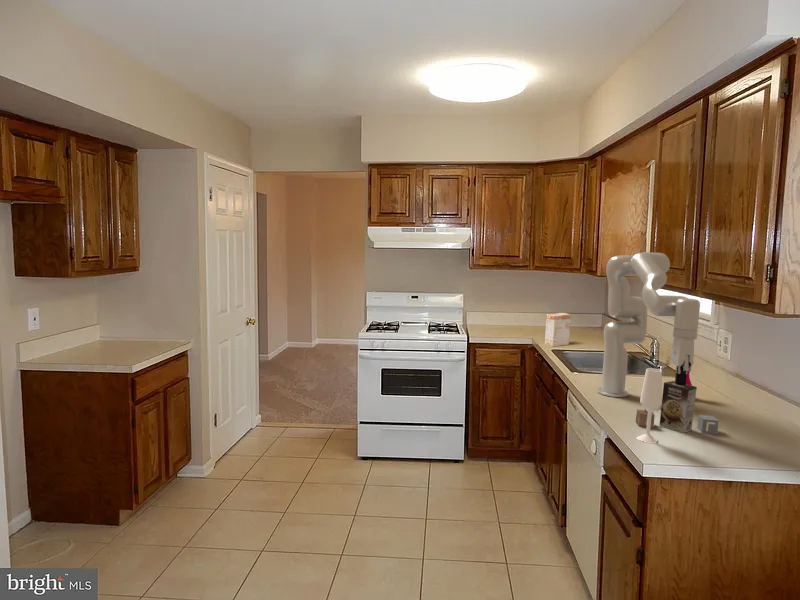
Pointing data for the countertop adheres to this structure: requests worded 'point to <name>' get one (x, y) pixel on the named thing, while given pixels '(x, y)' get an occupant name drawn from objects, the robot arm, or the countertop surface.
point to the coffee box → (677, 406)
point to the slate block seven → (708, 424)
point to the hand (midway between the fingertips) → (680, 384)
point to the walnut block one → (644, 418)
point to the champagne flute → (651, 398)
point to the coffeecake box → (557, 329)
